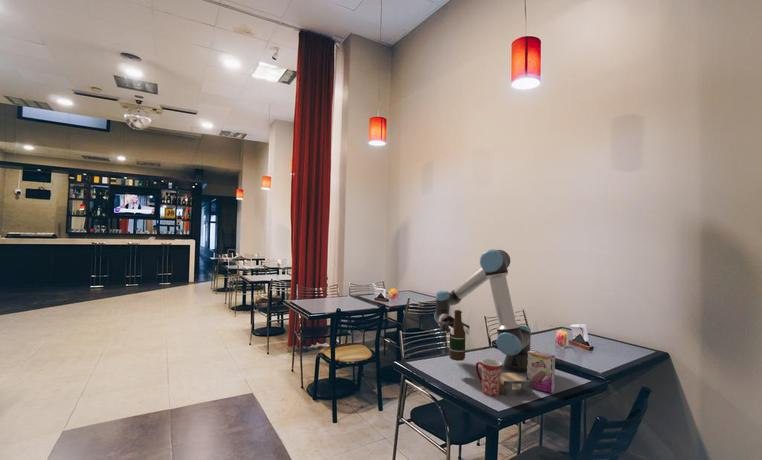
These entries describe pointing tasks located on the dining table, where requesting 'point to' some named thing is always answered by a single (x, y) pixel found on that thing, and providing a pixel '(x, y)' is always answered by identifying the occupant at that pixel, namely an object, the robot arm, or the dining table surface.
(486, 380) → the mug
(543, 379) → the candy bar box
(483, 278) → the robot arm
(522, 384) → the shelf step
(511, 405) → the dining table surface
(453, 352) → the beer bottle
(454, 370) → the dining table surface
